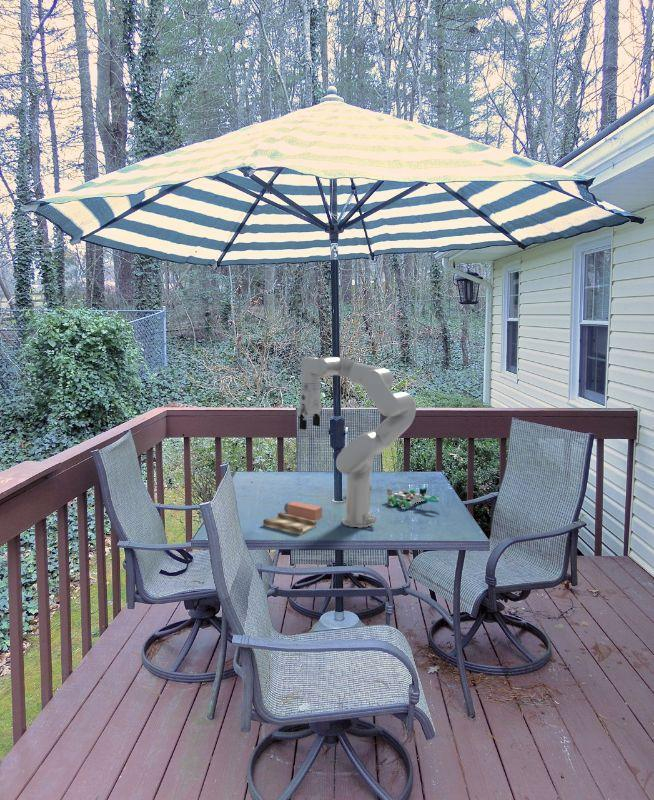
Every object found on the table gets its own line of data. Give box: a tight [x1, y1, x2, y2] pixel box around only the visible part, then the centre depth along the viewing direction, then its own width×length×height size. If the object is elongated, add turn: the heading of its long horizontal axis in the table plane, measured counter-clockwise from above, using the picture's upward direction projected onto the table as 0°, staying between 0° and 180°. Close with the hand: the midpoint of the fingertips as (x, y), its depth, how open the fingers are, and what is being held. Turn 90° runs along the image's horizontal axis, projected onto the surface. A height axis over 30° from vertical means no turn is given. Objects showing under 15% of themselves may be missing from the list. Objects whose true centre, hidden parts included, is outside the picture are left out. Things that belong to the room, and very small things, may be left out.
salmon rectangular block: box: [283, 500, 323, 522], centre depth 249 cm, size 16×5×5 cm, turn 58°
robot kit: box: [386, 486, 443, 509], centre depth 265 cm, size 19×25×9 cm
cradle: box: [262, 512, 317, 536], centre depth 237 cm, size 18×11×2 cm, turn 57°
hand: (309, 427), depth 250 cm, fingers open, 9 cm apart
